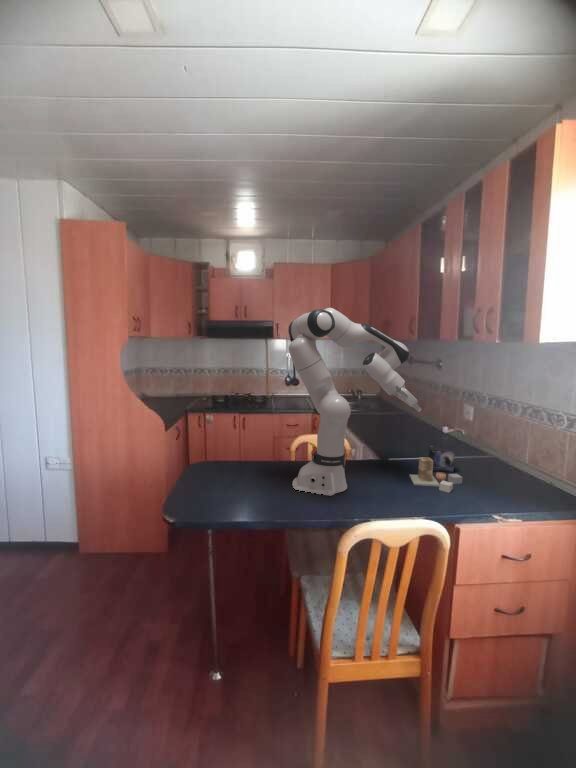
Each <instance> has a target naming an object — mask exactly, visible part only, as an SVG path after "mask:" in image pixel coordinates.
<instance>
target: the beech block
mask: <svg viewBox="0 0 576 768" xmlns="http://www.w3.org/2000/svg"><path fill="white" fill-rule="evenodd" d="M433 472H434V471H433V460H432V459H431V458H429V456H428V457H427V456H426V457H420V456H419V458H418V471H417V473H418V474H417V475H418V478H419V479H420V480H421V481H428V482H432V476H434V475H433Z"/></svg>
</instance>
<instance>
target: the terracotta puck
mask: <svg viewBox="0 0 576 768" xmlns="http://www.w3.org/2000/svg"><path fill="white" fill-rule="evenodd" d="M435 479H436V481H437V482H438V483H440V482H442V481H447V474H446V472H437V471H436V473H435Z"/></svg>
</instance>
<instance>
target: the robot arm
mask: <svg viewBox="0 0 576 768" xmlns="http://www.w3.org/2000/svg"><path fill="white" fill-rule="evenodd" d="M287 329H288V337H289V341H290V342H291V343H290V344H289V346H288V352H289V355H290V358H291V361H292V363H293V366H294V367H295V370H296V372H297V374H298V375H299V377H300V379H301V381H302V383H303V384H304V387H305V389H306V390H307V394H308V395H309V398H310V401H312V404H313V406H314V407H315V410H316V411H317V413H318V414H319V417H320V421H319V426H318V431H317V434H316V436H317V438H316V449H313V450H311V460H310V461H309V462H307V463H306V464H305V465H303V466H302V467H301V468H300V469H299V472H298V474H297V476H296V477H295V478H294V479H293V480H292V486H293V487H292V486H291V487H292V489H293V488H294V489H295V490H299V491H298V492H300V491H305V492H304V493H307V492H311V493H310V494H314V493H316V495H321V494H323V495H322V496H330V497H331V496H334V495H335V494H338V493H341V492H344V491H346V490H347V489H348V483H347V480H346V473H345V467H346V453H345V438H346V437H345V436H346V431H347V426H348V422H349V419H350V417H351V413H352V411H351V406H350V404H349V402H348V400H347V399H346V398H345V397H343V396H342V395H340V393H339V392H338V391H337V389H336V386H335V384H334V381H333V378H332V374H331V372H330V370H329V368H328V367H327V365H326V363H325V360H324V359H323V357H322V355H321V354H320V352H319V350H318V348H317V340H318V339H321V338H324V337H328V338H329V339H330V340H331V341H332V342H333V343H334V344H336V345H337V346H340V347H341V348H353V347H355V346H358V345H359V344H361V343H365V342H368V341H374V342H377V343H378V344H380V345H381V346H382V347H385V348H383V350H382V351H380V352H379V353H377V352H371V353H369V354H368V355H367V356H366V357H364V359H363V362H362V367H363V368H364V369H365V371H366V372H367V374H368V375H369V376H370V377H371V378H372V379H373V380H374V381H375V382H377V383H378V384H379V386H380V387H381V388H382V390H383V391H384V392H386V393H387V395H389V396H393V397H397V398H398V399H399V400H401V401H402V402H404V403H405V404H406V405H408V406H409V407H410V408H413V409H414V410H416V412H417V413H421V411H422V407H420V405H419V404H418V402H419V401H418V399H417V398H416V397H415V396H414V395H413V394H412V393H411V392H410V391H409V390H408V389H406V385H405V382H406V381H405V379H404V378H403V377H402V376H401V375H400V374H399V373H398V372H397V371H395V369H397V368H398V367H399V366H401V365H403V364H404V363H405V362H407V361H408V360H409V357H410V350H409V348H408V347H407V345H406V344H404V343H402V342H400V341H399V340H396V339H395V338H393V337H391V336H389V335H388V334H386V333H384V332H382V331H381V330H379V329H377V328H376V327H374V326H372V325H371V324H368V323H365V322H364V323H356V322H354V321H352V320H350V319H349V317H347V316H346V315H344V314H343V313H341V312H340V311H339V310H336V309H335V308H333V307H327V308H324V309H322V308H319V309H315V310H312V311H310V312H306V313H302V314H301V315H300V316H297V317H296V318H294V319H293V320H292V321H291V322H290V324H289V325H288V328H287ZM294 489H293V490H294ZM295 490H294V491H295Z"/></svg>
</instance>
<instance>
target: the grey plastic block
mask: <svg viewBox="0 0 576 768" xmlns="http://www.w3.org/2000/svg"><path fill="white" fill-rule="evenodd" d="M447 482H451V483H453V485H460V484H463V476H461V475H460V474H458V473H448V474H447Z"/></svg>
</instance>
